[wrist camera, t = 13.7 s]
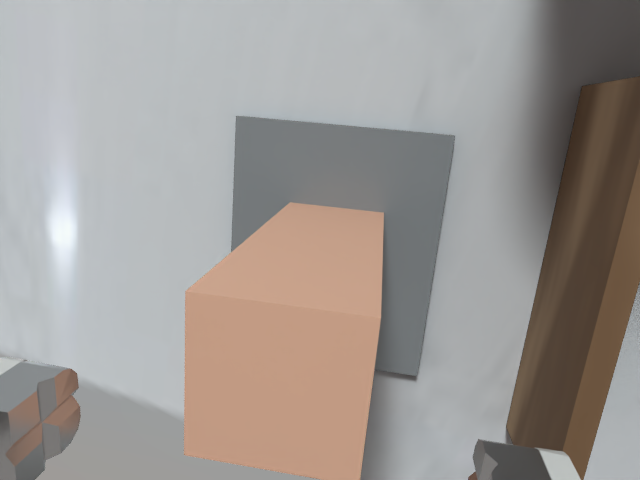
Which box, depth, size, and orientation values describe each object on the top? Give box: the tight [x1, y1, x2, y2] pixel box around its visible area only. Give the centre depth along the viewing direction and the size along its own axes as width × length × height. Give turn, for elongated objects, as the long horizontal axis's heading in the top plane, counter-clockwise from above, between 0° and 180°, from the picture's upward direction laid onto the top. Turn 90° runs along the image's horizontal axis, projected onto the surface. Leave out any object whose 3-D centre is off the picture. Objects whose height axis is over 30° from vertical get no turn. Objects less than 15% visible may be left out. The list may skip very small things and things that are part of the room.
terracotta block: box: [184, 202, 384, 480], centre depth 17 cm, size 4×4×12 cm
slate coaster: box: [231, 116, 455, 376], centre depth 23 cm, size 10×12×1 cm
